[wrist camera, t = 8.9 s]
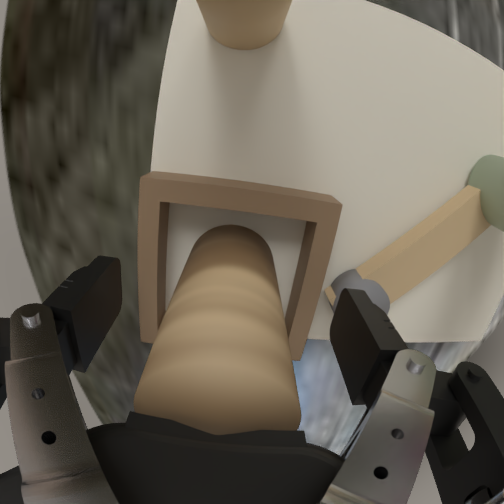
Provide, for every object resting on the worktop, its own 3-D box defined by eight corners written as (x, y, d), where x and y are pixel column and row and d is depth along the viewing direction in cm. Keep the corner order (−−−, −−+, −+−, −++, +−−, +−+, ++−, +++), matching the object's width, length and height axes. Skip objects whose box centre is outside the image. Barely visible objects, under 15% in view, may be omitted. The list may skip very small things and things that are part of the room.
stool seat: (193, -7, 10) (138, -129, 2) (523, 103, 12) (633, 122, 3) (159, 296, 17) (100, 436, 8) (463, 322, 18) (533, 410, 9)
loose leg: (192, 219, 12) (124, 348, 5) (280, 230, 13) (322, 372, 5) (187, 295, 14) (142, 448, 6) (265, 305, 14) (280, 463, 7)
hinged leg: (347, 329, 14) (420, 518, 5) (312, 280, 13) (390, 506, 4) (515, 198, 12) (653, 278, 2) (499, 142, 11) (664, 199, 1)
